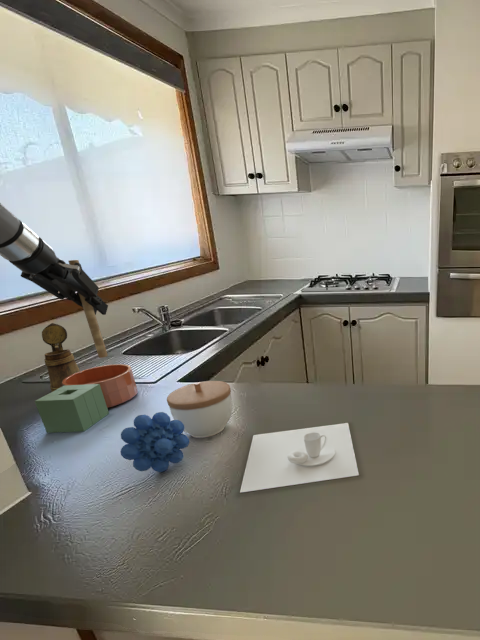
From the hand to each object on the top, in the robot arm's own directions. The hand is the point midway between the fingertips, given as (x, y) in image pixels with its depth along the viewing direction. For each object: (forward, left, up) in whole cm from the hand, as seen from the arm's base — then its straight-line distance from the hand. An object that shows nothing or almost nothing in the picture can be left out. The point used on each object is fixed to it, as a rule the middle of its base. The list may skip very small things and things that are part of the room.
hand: (100, 310), depth 107 cm
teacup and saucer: (+56, -34, -23) cm, 69 cm away
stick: (0, -4, -11) cm, 12 cm away
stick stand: (-1, -17, -23) cm, 29 cm away
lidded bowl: (+33, -23, -23) cm, 46 cm away
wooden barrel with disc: (-22, +8, -23) cm, 33 cm away
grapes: (+32, -39, -23) cm, 55 cm away
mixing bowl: (-3, -4, -23) cm, 24 cm away
